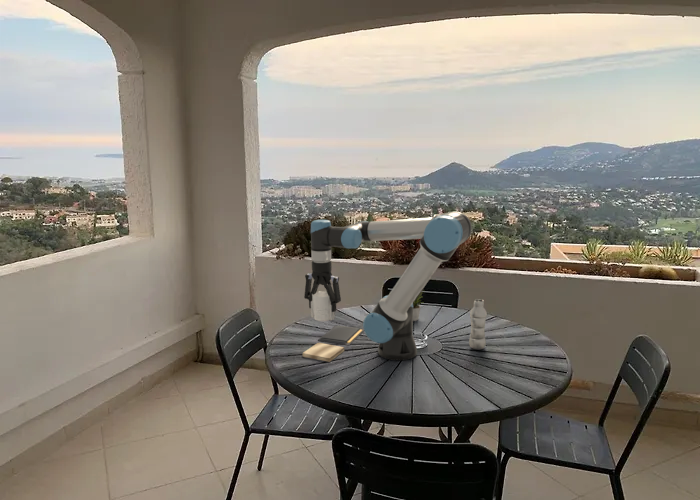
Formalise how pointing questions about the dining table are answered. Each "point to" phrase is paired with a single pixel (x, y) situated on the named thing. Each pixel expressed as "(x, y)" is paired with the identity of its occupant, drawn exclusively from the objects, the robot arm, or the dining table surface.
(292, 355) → the dining table surface
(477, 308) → the plastic bottle
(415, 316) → the house plant
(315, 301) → the white cup
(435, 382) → the dining table surface
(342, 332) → the black book
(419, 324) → the dining table surface
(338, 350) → the oak coaster board
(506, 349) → the dining table surface
